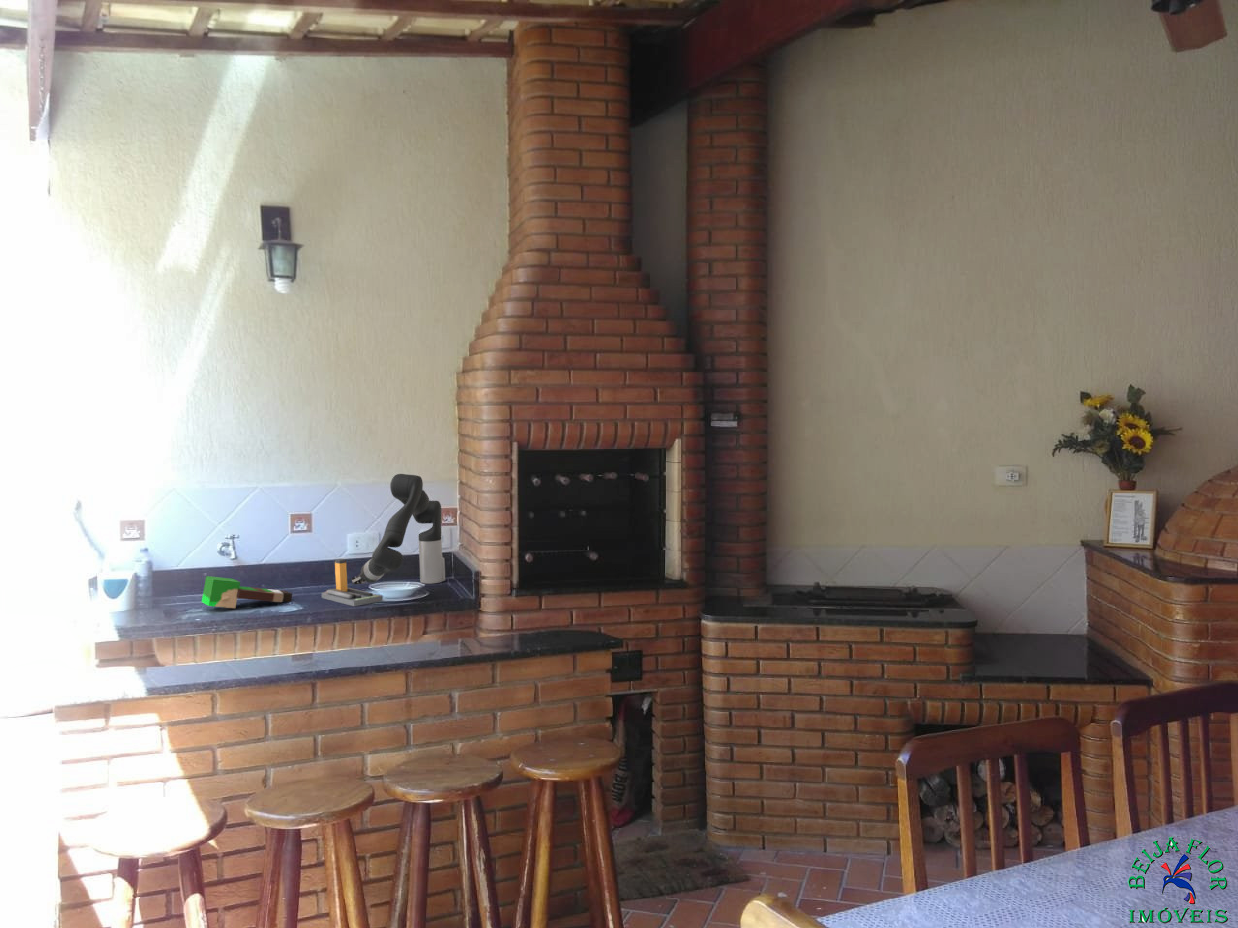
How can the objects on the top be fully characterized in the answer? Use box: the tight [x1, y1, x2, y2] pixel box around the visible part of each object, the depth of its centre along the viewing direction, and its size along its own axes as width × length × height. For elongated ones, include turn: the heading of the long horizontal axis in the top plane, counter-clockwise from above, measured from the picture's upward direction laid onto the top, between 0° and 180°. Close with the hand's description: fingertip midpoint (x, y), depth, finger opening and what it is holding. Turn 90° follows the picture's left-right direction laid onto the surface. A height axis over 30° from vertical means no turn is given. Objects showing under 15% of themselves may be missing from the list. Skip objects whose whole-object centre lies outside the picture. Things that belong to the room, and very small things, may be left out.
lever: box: [334, 558, 348, 591], centre depth 407 cm, size 3×4×12 cm
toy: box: [201, 575, 293, 610], centre depth 396 cm, size 15×11×30 cm
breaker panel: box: [321, 586, 384, 607], centre depth 402 cm, size 12×24×4 cm, turn 44°
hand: (360, 581), depth 400 cm, fingers closed
